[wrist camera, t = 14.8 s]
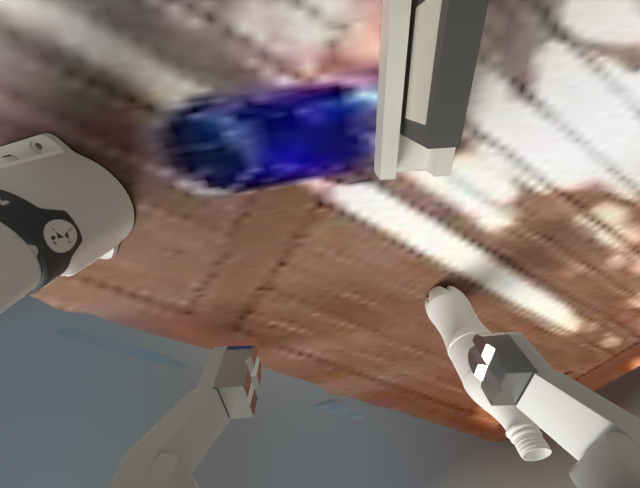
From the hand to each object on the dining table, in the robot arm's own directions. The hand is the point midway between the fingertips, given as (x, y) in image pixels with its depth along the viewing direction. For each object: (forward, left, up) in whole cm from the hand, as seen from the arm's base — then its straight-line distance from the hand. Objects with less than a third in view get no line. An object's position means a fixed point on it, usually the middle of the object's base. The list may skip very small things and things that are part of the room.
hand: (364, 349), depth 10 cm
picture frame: (+11, +10, -30) cm, 33 cm away
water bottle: (+20, -26, -31) cm, 45 cm away
